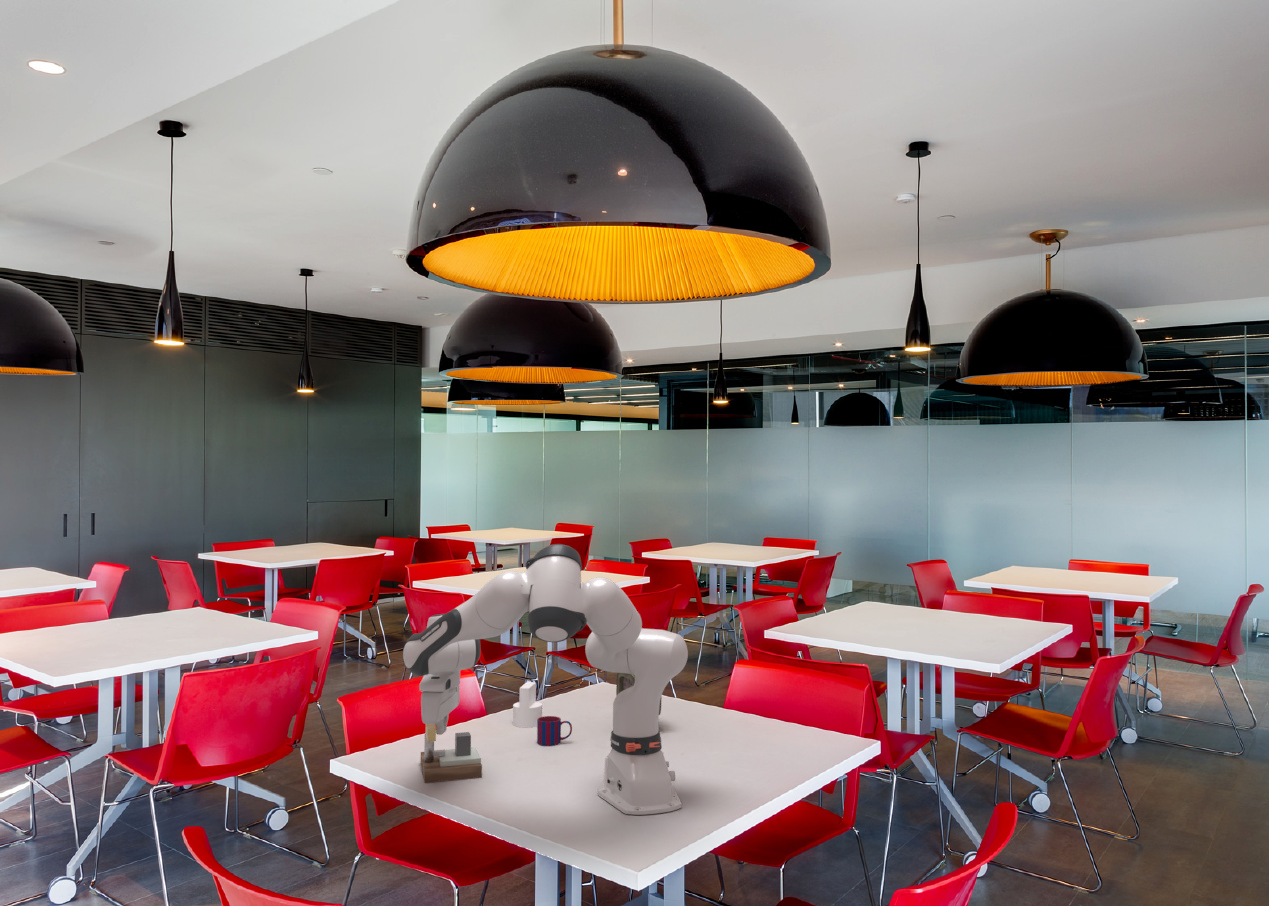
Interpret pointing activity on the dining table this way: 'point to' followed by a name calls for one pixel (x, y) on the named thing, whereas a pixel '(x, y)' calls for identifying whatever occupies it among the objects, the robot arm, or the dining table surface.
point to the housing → (448, 771)
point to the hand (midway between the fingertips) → (441, 733)
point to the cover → (460, 752)
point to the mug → (550, 730)
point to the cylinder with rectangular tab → (527, 707)
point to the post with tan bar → (431, 744)
